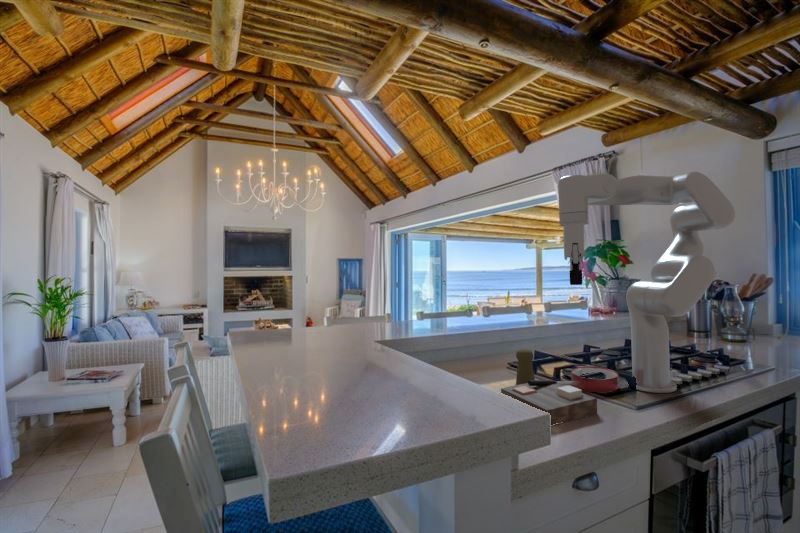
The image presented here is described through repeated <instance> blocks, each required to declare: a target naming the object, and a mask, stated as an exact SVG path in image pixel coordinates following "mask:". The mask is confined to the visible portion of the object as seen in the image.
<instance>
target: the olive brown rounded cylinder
mask: <svg viewBox="0 0 800 533" xmlns="http://www.w3.org/2000/svg"><path fill="white" fill-rule="evenodd" d="M515 357H516V359H517V369H516V379H515V385H520V384H525V383H528V381H529V380H536V379H535V373H534V372H535V371H534V369H533V368H534V367H533V362H532V361H533V359H534V353H533V351H532V350H530V349H527V348H526V349H525V348H524V349H523V348H522V349H519V350H517V351H516V352H515Z"/></svg>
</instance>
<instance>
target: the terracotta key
mask: <svg viewBox="0 0 800 533" xmlns="http://www.w3.org/2000/svg"><path fill="white" fill-rule="evenodd" d="M513 391H514V392H516V393H518V394H521V395H523V396H524V395H528V394H533V393H536V390H534V389H532V388H529V387H527V386H522V387H517V388H513Z"/></svg>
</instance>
